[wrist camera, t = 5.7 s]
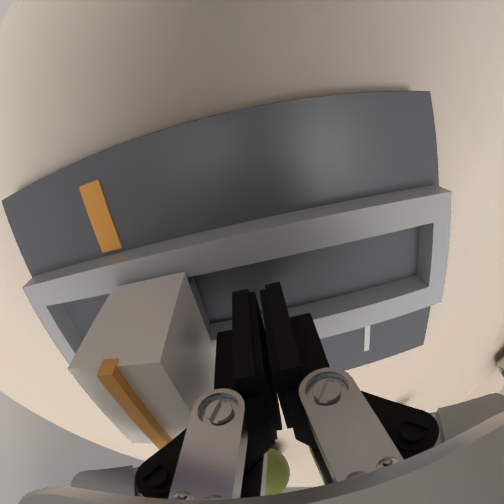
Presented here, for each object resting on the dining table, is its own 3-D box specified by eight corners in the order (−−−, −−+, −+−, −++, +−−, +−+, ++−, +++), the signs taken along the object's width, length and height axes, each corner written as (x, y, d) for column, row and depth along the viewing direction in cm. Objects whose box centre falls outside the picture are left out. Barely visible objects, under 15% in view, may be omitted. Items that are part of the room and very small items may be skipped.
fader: (123, 271, 12) (62, 376, 6) (189, 256, 12) (156, 371, 6) (158, 343, 13) (130, 451, 8) (216, 334, 13) (211, 450, 8)
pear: (304, 495, 16) (258, 507, 21) (299, 439, 21) (257, 466, 26) (232, 495, 15) (204, 504, 20) (234, 434, 20) (207, 461, 25)
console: (18, 192, 11) (-14, 208, 9) (411, 92, 11) (446, 90, 8) (118, 386, 17) (108, 416, 15) (413, 329, 16) (431, 357, 14)
